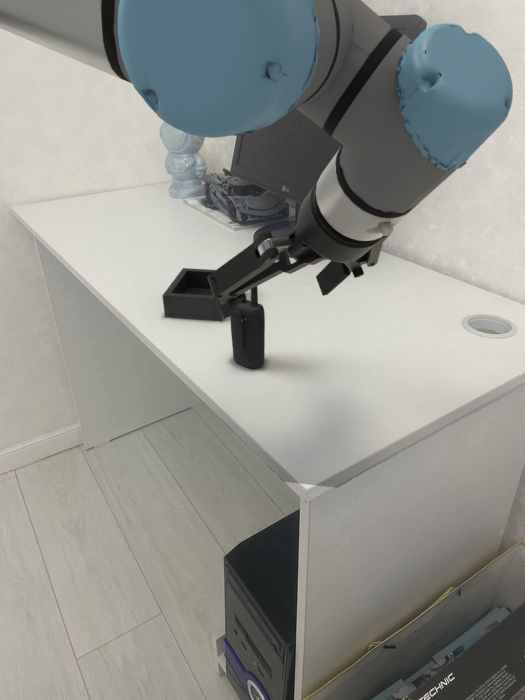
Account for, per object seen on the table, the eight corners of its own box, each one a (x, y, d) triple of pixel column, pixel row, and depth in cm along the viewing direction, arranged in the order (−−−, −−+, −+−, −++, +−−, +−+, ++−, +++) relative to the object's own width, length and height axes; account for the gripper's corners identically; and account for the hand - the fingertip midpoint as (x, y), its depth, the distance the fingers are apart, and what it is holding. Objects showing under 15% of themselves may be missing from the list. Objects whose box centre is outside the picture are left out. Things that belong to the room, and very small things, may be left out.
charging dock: (164, 317, 92) (162, 295, 90) (184, 288, 102) (182, 267, 100) (221, 321, 91) (220, 299, 88) (236, 291, 101) (235, 270, 99)
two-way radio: (269, 363, 79) (269, 271, 71) (251, 376, 76) (250, 282, 68) (241, 351, 82) (238, 262, 74) (223, 364, 79) (218, 272, 71)
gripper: (233, 270, 39) (186, 347, 59) (478, 223, 48) (368, 303, 68) (204, 183, 41) (168, 287, 60) (448, 154, 50) (348, 252, 69)
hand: (274, 296), depth 64 cm, fingers open, 13 cm apart
